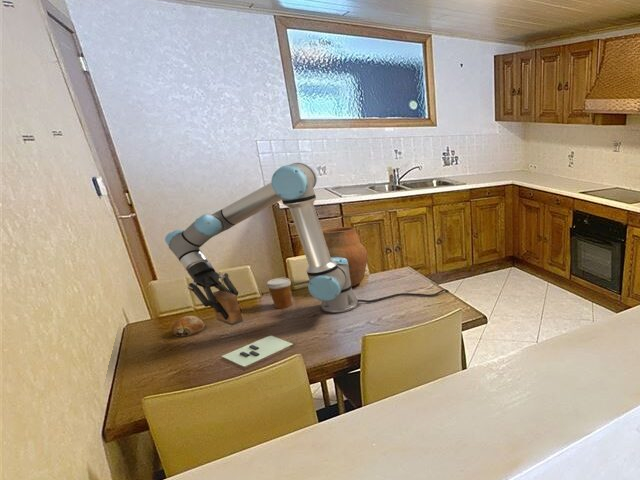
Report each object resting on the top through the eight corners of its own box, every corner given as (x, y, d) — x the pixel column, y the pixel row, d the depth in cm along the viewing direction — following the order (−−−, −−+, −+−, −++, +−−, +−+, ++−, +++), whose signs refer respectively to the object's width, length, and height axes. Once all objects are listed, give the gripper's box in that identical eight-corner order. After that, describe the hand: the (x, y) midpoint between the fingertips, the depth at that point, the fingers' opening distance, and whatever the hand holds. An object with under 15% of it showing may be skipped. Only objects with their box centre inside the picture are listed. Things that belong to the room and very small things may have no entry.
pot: (365, 274, 236) (358, 220, 225) (376, 288, 217) (368, 230, 206) (317, 281, 223) (307, 226, 213) (324, 297, 205) (314, 236, 194)
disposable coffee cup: (284, 310, 190) (279, 285, 186) (266, 308, 192) (260, 283, 188) (299, 302, 199) (295, 278, 195) (282, 300, 201) (277, 276, 196)
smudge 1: (243, 352, 154) (242, 351, 154) (249, 355, 152) (249, 354, 152) (239, 354, 153) (239, 353, 153) (246, 357, 151) (246, 355, 151)
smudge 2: (252, 346, 158) (252, 344, 158) (259, 348, 157) (258, 347, 156) (249, 347, 157) (248, 346, 157) (255, 350, 156) (255, 348, 155)
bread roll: (208, 337, 174) (212, 318, 174) (181, 338, 164) (185, 317, 164) (191, 333, 177) (195, 314, 177) (164, 334, 167) (168, 313, 167)
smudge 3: (253, 352, 154) (252, 350, 154) (259, 355, 153) (259, 353, 152) (249, 353, 153) (249, 352, 153) (256, 356, 152) (255, 355, 151)
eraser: (228, 316, 166) (221, 290, 163) (243, 321, 162) (236, 294, 158) (217, 320, 163) (209, 293, 159) (232, 325, 159) (224, 298, 155)
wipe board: (271, 337, 167) (270, 335, 166) (294, 346, 161) (293, 343, 160) (221, 359, 152) (221, 356, 152) (245, 369, 146) (244, 366, 145)
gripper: (220, 265, 170) (254, 311, 169) (170, 278, 156) (206, 329, 155) (224, 255, 166) (259, 302, 165) (173, 267, 152) (211, 319, 151)
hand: (233, 315), depth 160 cm, fingers closed on eraser, 4 cm apart
